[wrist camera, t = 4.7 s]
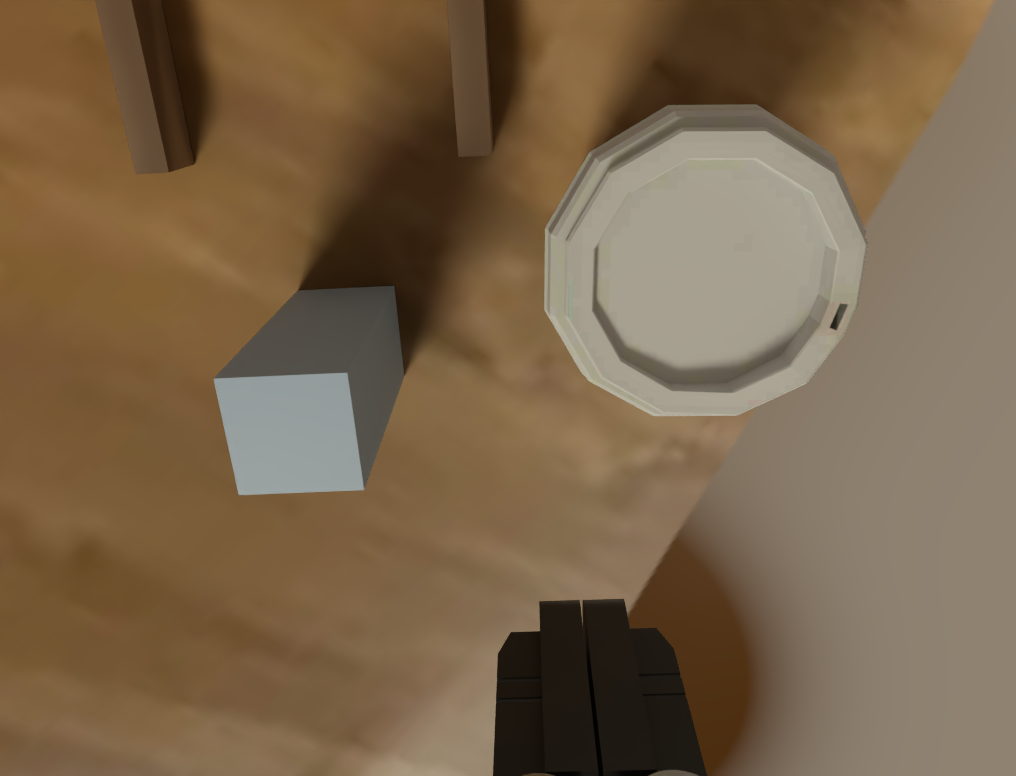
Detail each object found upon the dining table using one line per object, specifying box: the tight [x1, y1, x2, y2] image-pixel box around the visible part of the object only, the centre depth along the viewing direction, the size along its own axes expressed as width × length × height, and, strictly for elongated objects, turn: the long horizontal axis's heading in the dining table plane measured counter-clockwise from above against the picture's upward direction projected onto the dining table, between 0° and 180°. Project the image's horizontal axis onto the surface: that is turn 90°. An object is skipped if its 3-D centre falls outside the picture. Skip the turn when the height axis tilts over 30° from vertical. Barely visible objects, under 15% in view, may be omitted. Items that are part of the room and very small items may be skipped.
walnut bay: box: [95, 0, 494, 174], centre depth 33 cm, size 16×12×3 cm
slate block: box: [214, 286, 404, 495], centre depth 35 cm, size 5×5×12 cm
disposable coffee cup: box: [544, 104, 868, 416], centre depth 31 cm, size 11×11×15 cm
